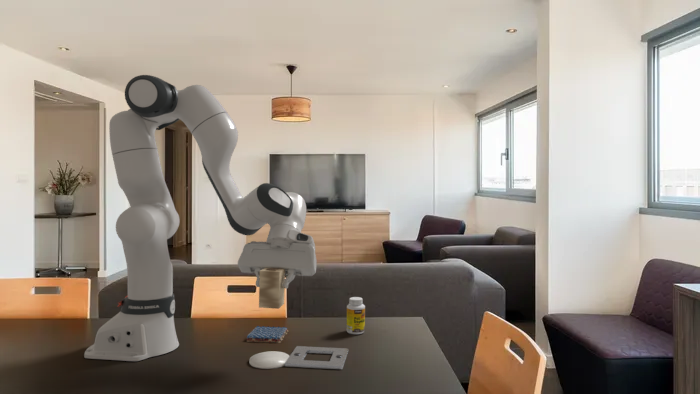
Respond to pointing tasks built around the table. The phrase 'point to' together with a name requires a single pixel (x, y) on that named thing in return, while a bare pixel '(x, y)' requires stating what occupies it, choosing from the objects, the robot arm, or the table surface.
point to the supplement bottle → (355, 316)
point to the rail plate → (335, 362)
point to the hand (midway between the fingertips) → (271, 286)
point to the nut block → (271, 288)
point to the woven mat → (267, 334)
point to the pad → (268, 360)
